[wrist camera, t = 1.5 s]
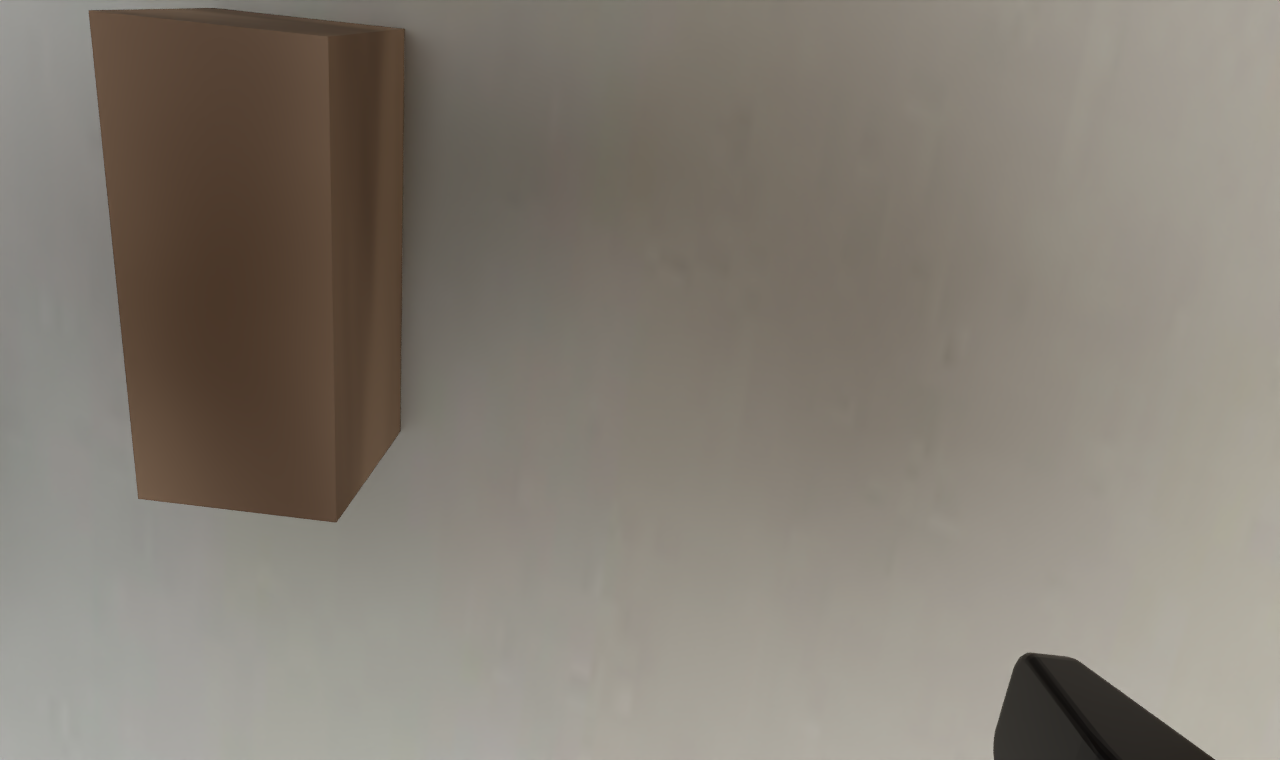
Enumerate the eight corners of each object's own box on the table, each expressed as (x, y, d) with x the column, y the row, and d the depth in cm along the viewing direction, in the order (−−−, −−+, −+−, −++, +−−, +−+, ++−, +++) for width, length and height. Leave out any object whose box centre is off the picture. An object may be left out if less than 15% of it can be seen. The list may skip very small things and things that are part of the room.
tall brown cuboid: (239, 409, 21) (138, 498, 17) (217, 8, 18) (88, 10, 14) (402, 428, 21) (336, 522, 17) (406, 28, 18) (328, 36, 14)
